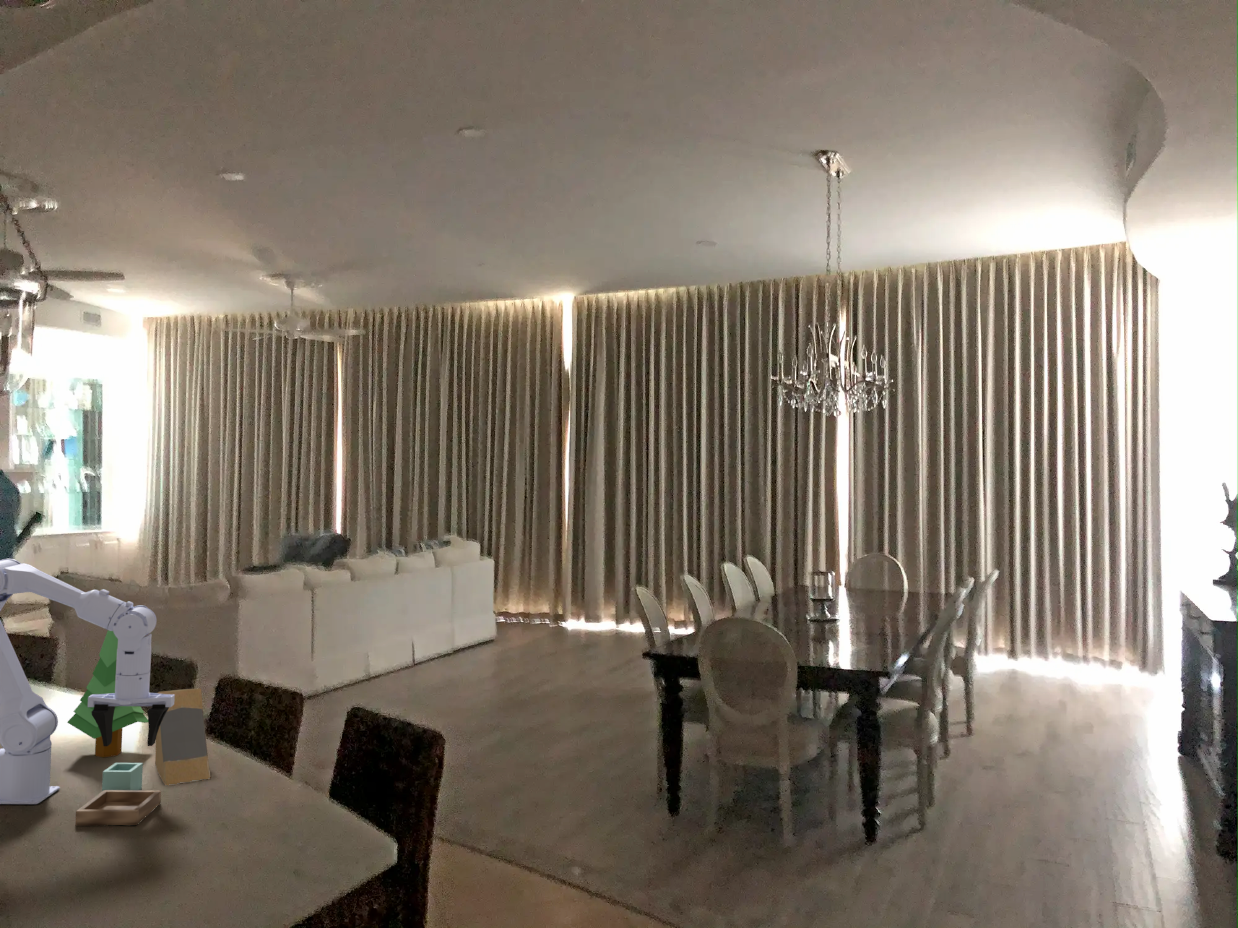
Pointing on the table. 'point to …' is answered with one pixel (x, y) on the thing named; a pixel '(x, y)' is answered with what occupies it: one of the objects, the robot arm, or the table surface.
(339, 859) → the table surface
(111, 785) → the box
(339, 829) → the table surface
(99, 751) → the decorative tree
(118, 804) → the walnut crate
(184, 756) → the sandwich container
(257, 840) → the table surface
